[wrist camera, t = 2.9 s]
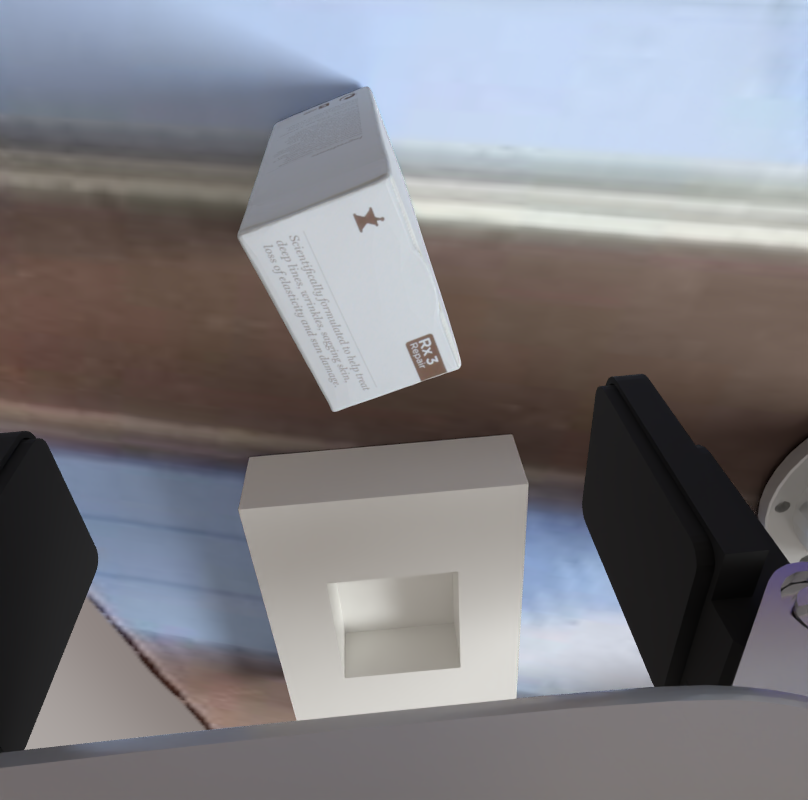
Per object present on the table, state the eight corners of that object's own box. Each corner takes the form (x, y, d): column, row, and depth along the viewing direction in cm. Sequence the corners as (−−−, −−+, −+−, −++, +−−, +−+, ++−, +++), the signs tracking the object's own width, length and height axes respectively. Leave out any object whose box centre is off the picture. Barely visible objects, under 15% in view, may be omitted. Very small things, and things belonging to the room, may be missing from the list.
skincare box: (268, 123, 26) (214, 230, 16) (375, 79, 25) (388, 161, 15) (332, 262, 29) (320, 423, 19) (427, 226, 28) (467, 373, 18)
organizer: (512, 434, 35) (528, 484, 32) (503, 661, 46) (515, 715, 43) (249, 457, 35) (238, 509, 32) (304, 679, 46) (300, 735, 43)
